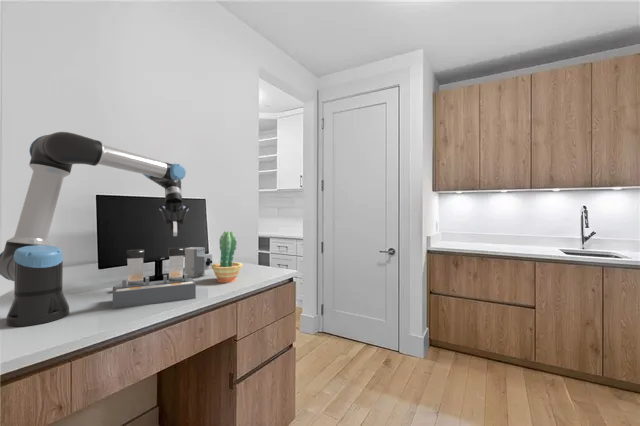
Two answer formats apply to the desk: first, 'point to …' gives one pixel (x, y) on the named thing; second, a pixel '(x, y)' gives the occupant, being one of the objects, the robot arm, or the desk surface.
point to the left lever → (135, 266)
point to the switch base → (153, 292)
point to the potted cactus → (227, 259)
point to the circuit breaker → (196, 261)
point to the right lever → (176, 264)
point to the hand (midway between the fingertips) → (175, 234)
